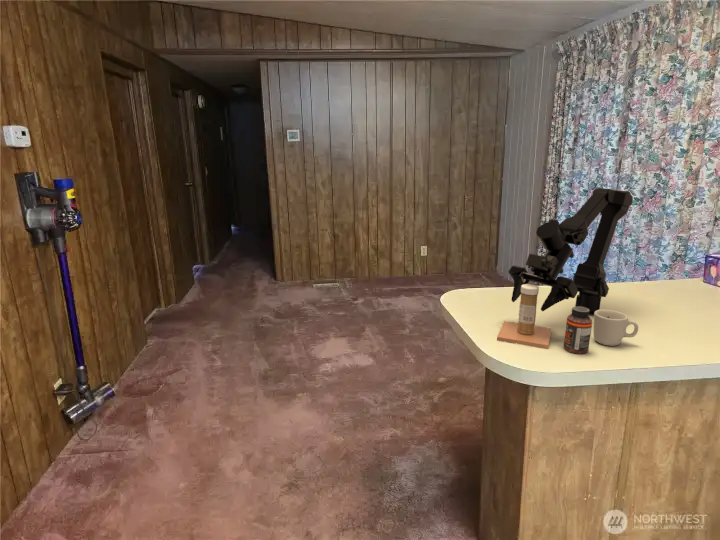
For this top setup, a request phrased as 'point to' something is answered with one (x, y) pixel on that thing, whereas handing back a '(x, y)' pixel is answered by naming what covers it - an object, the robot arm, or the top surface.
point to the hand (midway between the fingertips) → (526, 305)
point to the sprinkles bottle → (527, 309)
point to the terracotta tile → (536, 339)
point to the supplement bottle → (578, 330)
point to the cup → (612, 327)
